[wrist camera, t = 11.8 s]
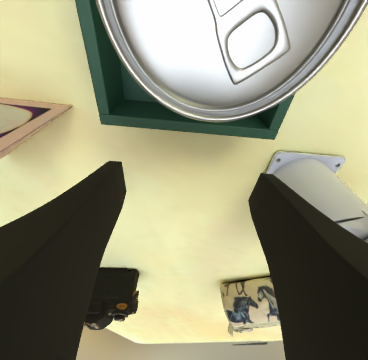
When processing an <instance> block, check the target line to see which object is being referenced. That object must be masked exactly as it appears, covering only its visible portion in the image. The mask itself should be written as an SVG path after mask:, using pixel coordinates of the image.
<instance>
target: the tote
mask: <svg viewBox="0 0 368 360" xmlns="http://www.w3.org/2000/svg"><path fill="white" fill-rule="evenodd" d="M75 2H76V7H77V12H78V16H79V21H80V26H81V31H82V35H83V40H84V45H85V49H86V54H87V59H88V64H89V68H90V73H91V78H92V82H93V87H94V92H95V97H96V101H97V106H98V111H99V113H100V114H99V116H100V121H101V124H105V125H116V126H128V127H139V128H150V129H161V130H172V131H183V132H194V133H205V134H216V135H228V136H239V137H250V138H261V139H272V140H274V139H275V137H276V135H277V133H278V130H279V128H280V126H281V124H282V122H283V119H284V117H285V115H286V113H287V110H288V108H289V106H290V104H291V102H292V99H293V97H294V95H295V93H296V92H295V93H294V94H293V95H291V96H290V97H288V98H287V99H286V100H284V101H282V102H281V103H279V104H277V105H276V106H274V107H272V108H270V109H268V110H266V111H264V112H262V113H259V114H257V115H254V116H251V117H248V118H245V119H240V120H236V121H229V122H206V121H200V120H195V119H191V118H188V117H185V116H182V115H180V114H178V113H176V112H174V111H172V110H170V109H168V108H166V107H165V106H163V105H162V104H160V103H159V102H158V101H156V100H155V99H154V98H153V97H151V96H150V95H149V94H148V93H147V92H146V91H145V90H144V89H143V88H142V87H141V86H140V85H139V84H138V83H137V82H136V80H135V79H134V78H133V77H132V75H131V74H130V73H129V71H128V70H127V68H126V67H125V66H124V64H123V62H122V61H121V59H120V58H119V56H118V54H117V52H116V50H115V49H114V47H113V45H112V43H111V41H110V38H109V36H108V34H107V32H106V29H105V27H104V24H103V22H102V19H101V16H100V13H99V10H98V7H97V4H96V0H75Z"/></svg>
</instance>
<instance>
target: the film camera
mask: <svg viewBox="0 0 368 360" xmlns="http://www.w3.org/2000/svg"><path fill="white" fill-rule="evenodd" d="M138 277H139V273H138V271H137V270H132V271H130V272H129V270H127V269H113V268H112V269H109V268H108V269H106V268H105V269H104V268H99V270H98V273H97V277H96V280H95V284H94V287H93V291H92V294H91V298H90V302H89V306H88V310H87V314H86V317H85V321H84V322H85V323H84V326H85V327H87V328H89V329H91V330H101V329H103V328H105V327H106V326H108V325H109V324H110V323H111V322H112V320H113V318H114V320H117V321H124V320H125V317H128V315H130V314H135V313H136V311H137V308H138V299H137V298H138V295H139V294H138V293H139V291H136V287H137V282H138Z"/></svg>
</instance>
